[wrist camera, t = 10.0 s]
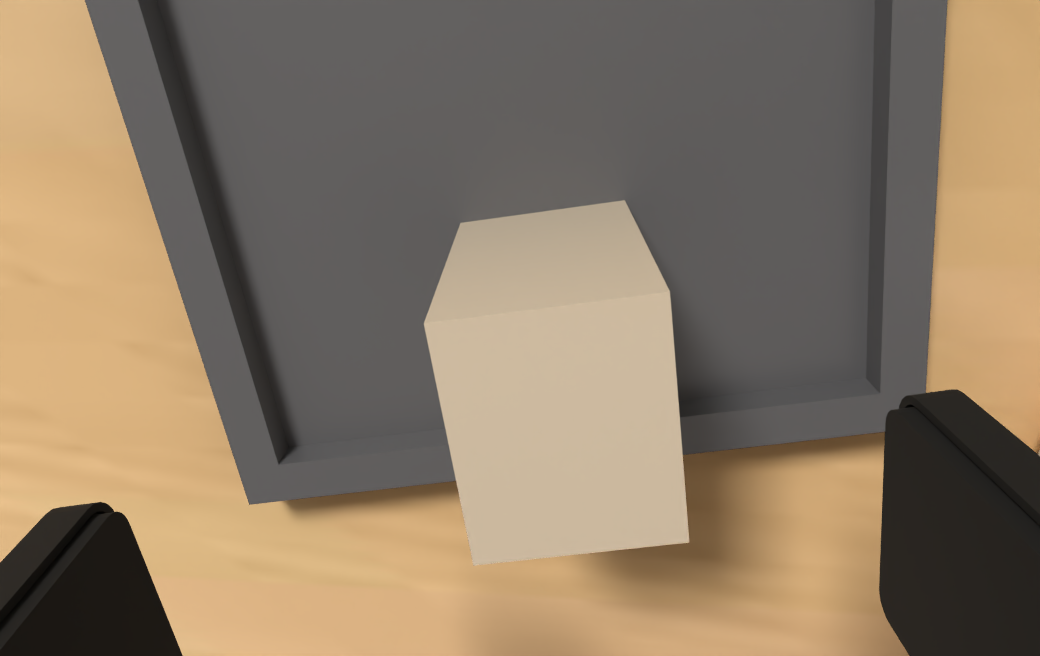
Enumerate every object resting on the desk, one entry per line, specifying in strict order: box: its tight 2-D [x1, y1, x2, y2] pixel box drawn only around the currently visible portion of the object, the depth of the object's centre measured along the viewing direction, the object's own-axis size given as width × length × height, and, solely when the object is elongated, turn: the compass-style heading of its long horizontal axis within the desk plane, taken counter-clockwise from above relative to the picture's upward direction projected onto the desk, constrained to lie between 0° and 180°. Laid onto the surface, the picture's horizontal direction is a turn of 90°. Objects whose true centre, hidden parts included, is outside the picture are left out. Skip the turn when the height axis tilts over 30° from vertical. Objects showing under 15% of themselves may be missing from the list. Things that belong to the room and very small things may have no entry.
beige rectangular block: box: [424, 200, 689, 566], centre depth 15 cm, size 4×4×6 cm
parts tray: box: [85, 0, 947, 505], centre depth 16 cm, size 16×14×1 cm
